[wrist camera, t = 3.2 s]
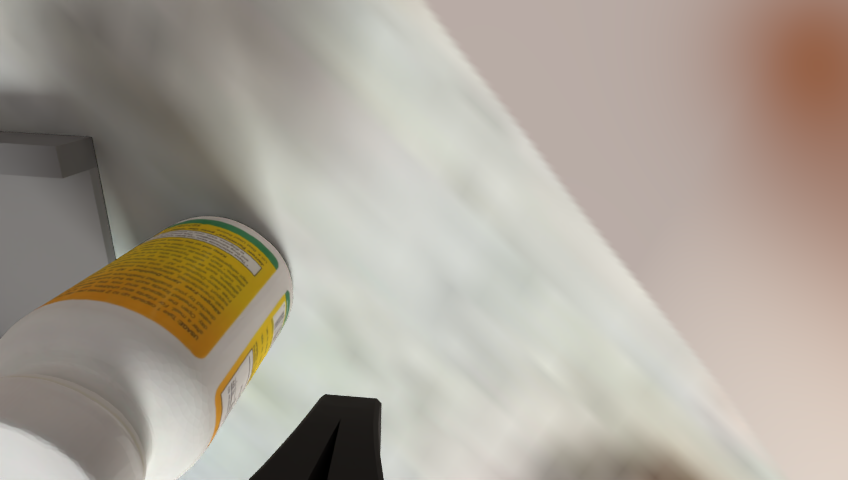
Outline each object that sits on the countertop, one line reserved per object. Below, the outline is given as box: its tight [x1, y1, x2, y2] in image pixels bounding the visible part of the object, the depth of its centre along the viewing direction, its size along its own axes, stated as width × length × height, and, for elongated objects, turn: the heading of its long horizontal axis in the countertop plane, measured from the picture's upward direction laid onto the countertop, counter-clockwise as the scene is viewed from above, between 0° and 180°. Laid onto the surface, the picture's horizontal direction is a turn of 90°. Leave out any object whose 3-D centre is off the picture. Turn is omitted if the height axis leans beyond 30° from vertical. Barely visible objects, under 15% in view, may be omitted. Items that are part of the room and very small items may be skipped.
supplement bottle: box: [0, 216, 293, 480], centre depth 14 cm, size 5×5×10 cm
